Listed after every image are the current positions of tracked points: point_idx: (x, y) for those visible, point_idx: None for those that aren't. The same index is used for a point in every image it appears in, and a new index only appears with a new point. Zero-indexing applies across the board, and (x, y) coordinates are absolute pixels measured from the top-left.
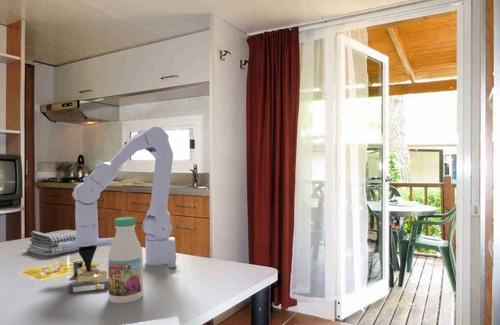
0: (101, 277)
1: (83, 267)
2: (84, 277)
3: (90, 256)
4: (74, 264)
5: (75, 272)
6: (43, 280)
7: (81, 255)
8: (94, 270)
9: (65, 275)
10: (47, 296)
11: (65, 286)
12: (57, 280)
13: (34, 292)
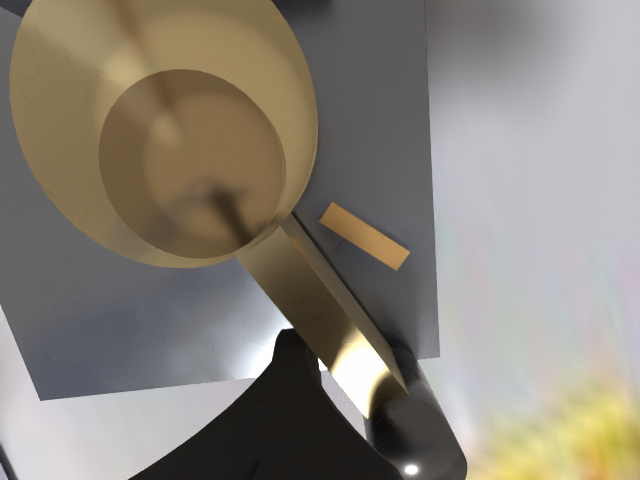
0: (35, 24)
1: (345, 388)
2: (214, 15)
3: (207, 442)
4: (445, 429)
5: (409, 368)
6: (606, 384)
7: (352, 447)
8: (152, 189)
9: (487, 447)
10: (509, 41)
11: None
12: (516, 366)
13: (621, 154)
